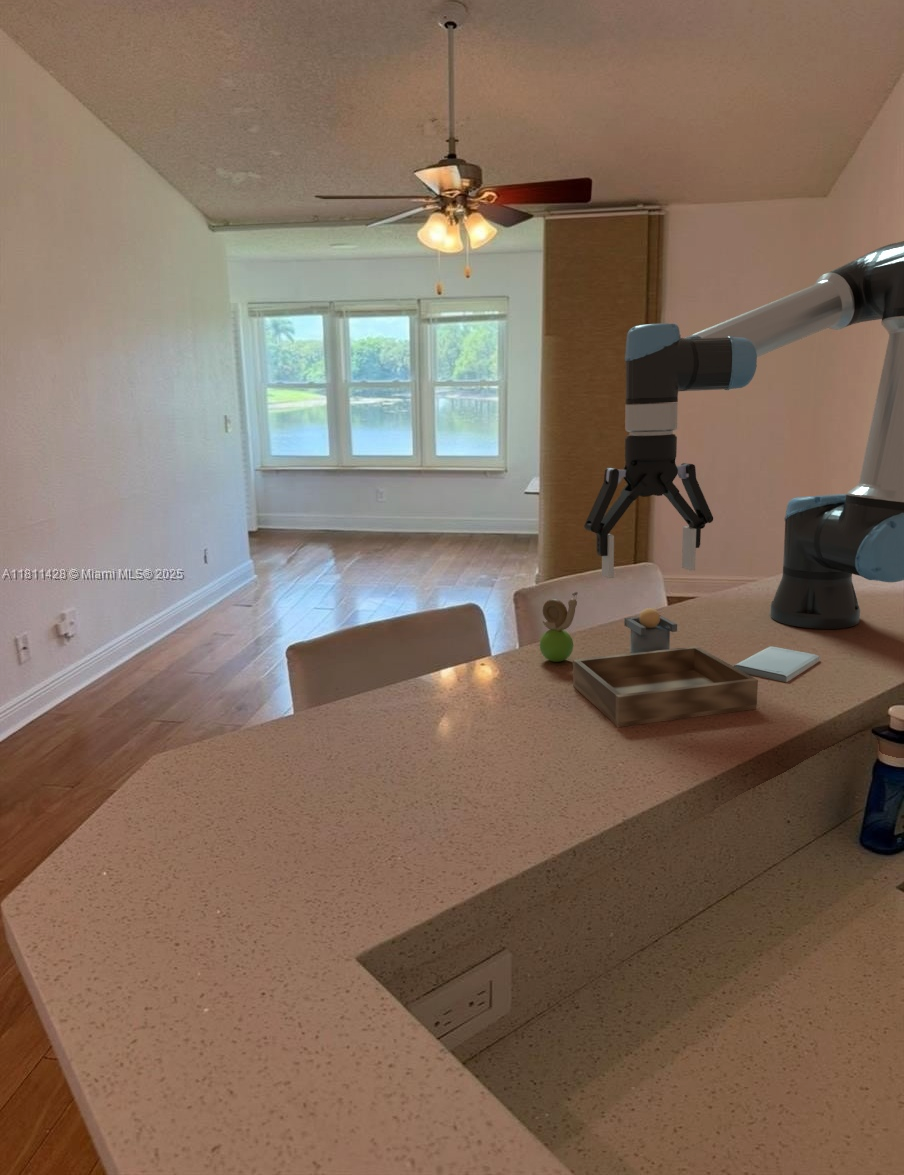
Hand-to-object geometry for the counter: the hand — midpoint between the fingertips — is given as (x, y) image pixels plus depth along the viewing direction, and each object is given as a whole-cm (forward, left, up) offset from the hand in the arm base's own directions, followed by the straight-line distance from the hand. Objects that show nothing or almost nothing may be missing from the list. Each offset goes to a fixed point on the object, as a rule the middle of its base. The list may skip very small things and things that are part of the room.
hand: (648, 572), depth 123 cm
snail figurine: (+13, -6, -15) cm, 21 cm away
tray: (+5, +13, -15) cm, 21 cm away
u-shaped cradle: (0, 0, -15) cm, 15 cm away
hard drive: (-18, +7, -16) cm, 25 cm away
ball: (0, 0, -7) cm, 7 cm away
